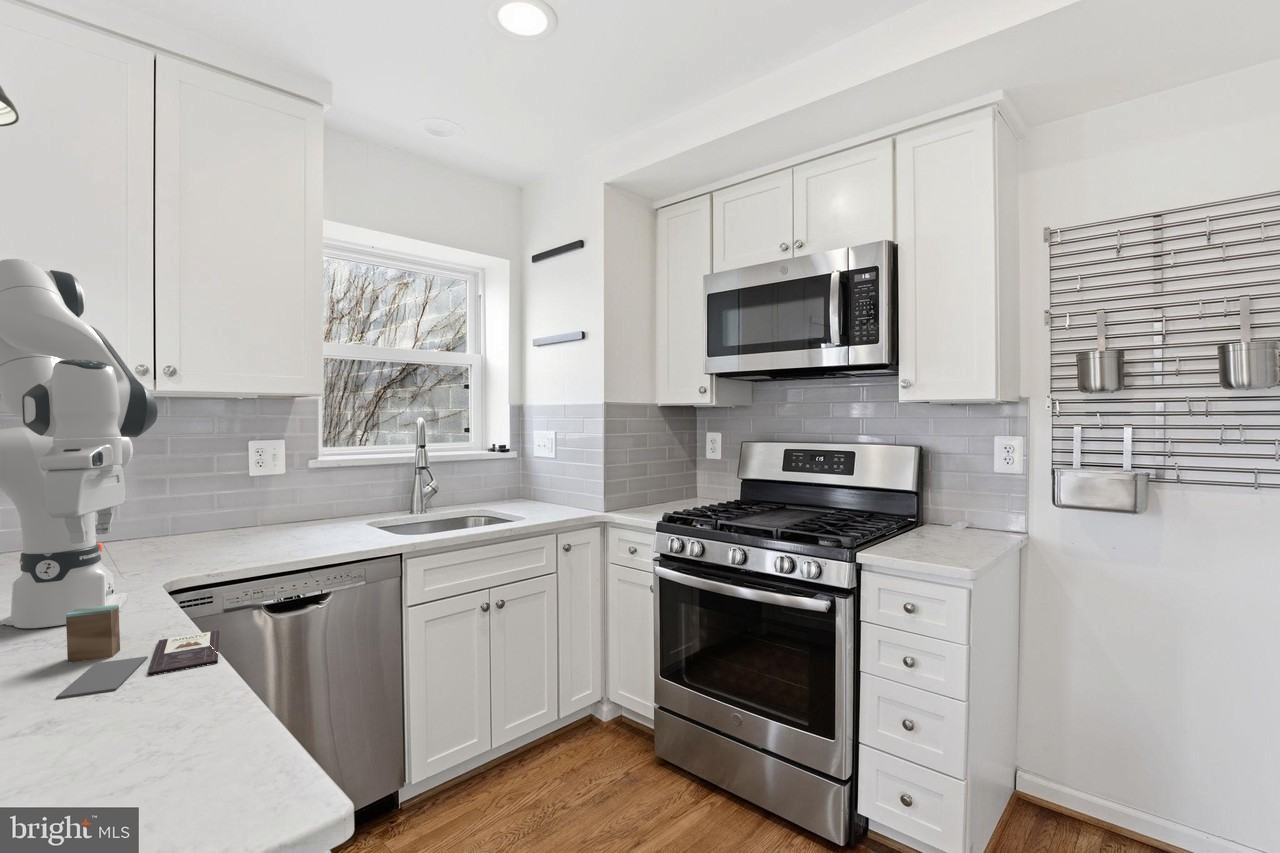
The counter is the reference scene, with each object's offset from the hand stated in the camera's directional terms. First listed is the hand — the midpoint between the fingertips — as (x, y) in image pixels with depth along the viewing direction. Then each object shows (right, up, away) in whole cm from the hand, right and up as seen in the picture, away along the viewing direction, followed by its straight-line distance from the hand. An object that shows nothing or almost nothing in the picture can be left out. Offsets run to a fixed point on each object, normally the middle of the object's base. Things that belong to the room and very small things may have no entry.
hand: (91, 538), depth 109 cm
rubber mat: (+9, -20, -9) cm, 24 cm away
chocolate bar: (+15, -20, +1) cm, 25 cm away
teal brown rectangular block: (0, -20, +1) cm, 20 cm away
